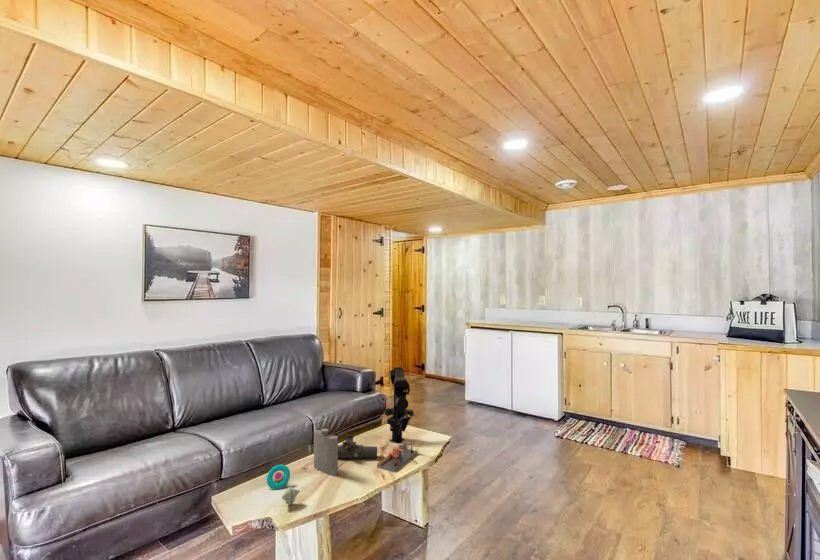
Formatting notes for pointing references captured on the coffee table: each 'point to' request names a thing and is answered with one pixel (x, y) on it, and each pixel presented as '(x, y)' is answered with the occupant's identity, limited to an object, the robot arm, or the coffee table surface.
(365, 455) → the laser sight
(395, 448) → the block
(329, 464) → the hip flask
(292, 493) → the grey-green faceted piece
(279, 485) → the ornament
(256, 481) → the coffee table surface
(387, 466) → the plate
